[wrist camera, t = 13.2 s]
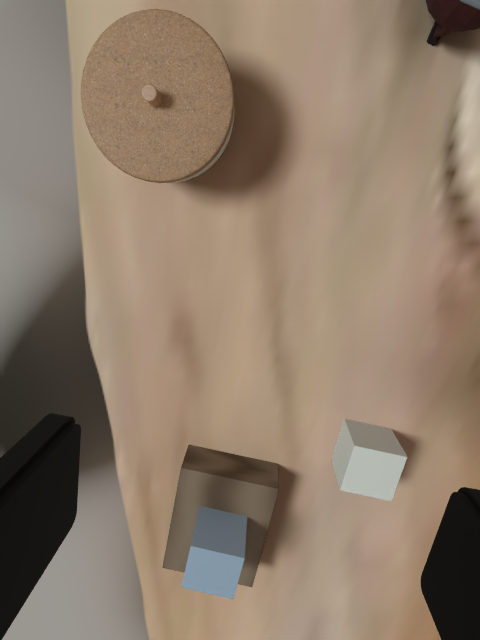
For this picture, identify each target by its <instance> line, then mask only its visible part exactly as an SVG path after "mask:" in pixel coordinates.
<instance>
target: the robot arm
mask: <svg viewBox="0 0 480 640" xmlns="http://www.w3.org/2000/svg"><path fill="white" fill-rule="evenodd" d="M80 436H81V427H80V425H79V424H75V420H74V418H73V417H69V416H63V415H58V414H48V415H47V416H46V417H44V418H43V419H42V420H41V421H40V422H39V423H38V424H37V425H36V426H35V427H34V428H32V429H31V430H30V431H29V432H28V433H27V434H26V435H25V436H24V437H23V438H22V439H21V440H19V442H17V443H16V444H15V445H14V446H13V447H12V448H11V449H10V450H9V451H7V452H6V453H5V454H4V455H3V456H2V457H1V458H0V640H2V638H3V636H4V635H5V633H6V632H7V630H8V628H9V627H10V625H11V624H12V622H13V620H14V619H15V617H16V616H17V614H18V613H19V611H20V609H21V608H22V606H23V605H24V603H25V601H26V600H27V598H28V596H29V595H30V593H31V592H32V590H33V588H34V587H35V585H36V584H37V582H38V580H39V579H40V577H41V576H42V574H43V572H44V571H45V569H46V568H47V566H48V564H49V563H50V561H51V560H52V558H53V556H54V555H55V553H56V552H57V550H58V548H59V546H60V545H61V544H62V542H63V540H64V539H65V537H66V536H67V534H68V532H69V531H70V529H71V527H72V525H73V523H74V520H75V517H76V513H77V496H78V495H77V494H78V476H79V455H80ZM421 588H422V592H423V595H424V598H425V600H426V603H427V605H428V608H429V610H430V613H431V615H432V617H433V620H434V622H435V625H436V627H437V630H438V632H439V635H440V637H441V640H480V490H477V489H471V488H466V487H463V488H460V489H459V490H458V492H454V493H452V495H451V496H450V499H449V502H448V504H447V507H446V510H445V513H444V515H443V518H442V521H441V523H440V526H439V529H438V532H437V534H436V537H435V540H434V543H433V545H432V548H431V551H430V553H429V556H428V559H427V562H426V564H425V567H424V570H423V572H422V576H421Z"/></svg>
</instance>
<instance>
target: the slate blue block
mask: <svg viewBox="0 0 480 640" xmlns="http://www.w3.org/2000/svg"><path fill="white" fill-rule="evenodd" d="M246 528H247V516H242V515H238V514H234V513H229V512H225V511H221V510H216V509H212V508H207V507H203V506H200V507H199V511H198V515H197V520H196V524H195V529H194V533H193V537H192V542H191V546H190V551H189V555H188V560H187V564H186V568H185V573H184V577H183V582H182V586H181V587H182V588H186V589H190V590H195V591H199V592H203V593H208V594H212V595H216V596H221V597H225V598H229V599H233V598H234V595H235V591H236V587H237V584H238V580H239V577H240V573H241V570H242V566H243V562H244V559H245V545H246Z"/></svg>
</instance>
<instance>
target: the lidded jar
mask: <svg viewBox="0 0 480 640" xmlns="http://www.w3.org/2000/svg"><path fill="white" fill-rule="evenodd" d="M81 101H82V109H83V114H84V118H85V121H86V125H87V127H88V130H89V132H90V134H91V136H92V138H93V140H94V142H95V143H96V145H97V147H98V148H99V149H100V151H101V152H102V153H103V154H104V156H105V157H106V158H107V159H108V160H109V161H110V162H111V163H113V164H114V165H115V166H116V167H118V168H119V169H121V170H122V171H123V172H125V173H127V174H129V175H131V176H133V177H135V178H139V179H142V180H145V181H149V182H157V183H173V182H181V181H186V180H189V179H191V178H194V177H197V176H199V175H200V174H202V173H204V172H205V171H207V170H208V169H209V168H210V167H211V166H212V165H214V164H215V162H216V161H217V160H218V159H219V158H220V156H221V155H222V153H223V152H224V150H225V148H226V146H227V144H228V141H229V139H230V136H231V132H232V128H233V124H234V115H235V104H234V88H233V83H232V77H231V74H230V71H229V68H228V65H227V62H226V60H225V58H224V56H223V54H222V52H221V50H220V48H219V47H218V45H217V44H216V43H215V41H214V40H213V38H212V37H211V36H210V35H209V34H208V33H207V32H206V31H205V30H204V29H203V28H202V27H200V26H199V25H198V24H196V23H195V22H194V21H192V20H191V19H189V18H187V17H185V16H183V15H181V14H178V13H174V12H171V11H167V10H159V9H151V10H142V11H138V12H134V13H131V14H128V15H126V16H124V17H122V18H120V19H119V20H117V21H116V22H114V23H113V24H112V25H110V26H109V27H108V28H107V29H106V30H105V31H104V32H103V33H102V34H101V35H100V37H99V38H98V40H97V41H96V42H95V44H94V45H93V47H92V49H91V51H90V53H89V55H88V57H87V60H86V64H85V67H84V70H83V76H82V82H81Z"/></svg>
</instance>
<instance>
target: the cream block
mask: <svg viewBox="0 0 480 640" xmlns="http://www.w3.org/2000/svg"><path fill="white" fill-rule="evenodd" d="M406 460H407V455H406V454H405V452H404V450H403V448H402V447H401V445H400V443H399V441H398V440H397V438H396V436H395V435H394V433H393V431H392V429H390V428H385V427H381V426H376V425H371V424H367V423H362V422H357V421H353V420H348V419H344V421H343V424H342V428H341V431H340V434H339V437H338V440H337V444H336V447H335V450H334V453H333V457H332V462H333V466H334V469H335V473H336V477H337V481H338V484H339V488H340V490H341V491H346V492H351V493H355V494H360V495H365V496H369V497H374V498H378V499H383V500H388V501H391V500H392V498H393V495H394V492H395V490H396V487H397V484H398V481H399V479H400V476H401V473H402V471H403V468H404V465H405V463H406Z"/></svg>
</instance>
